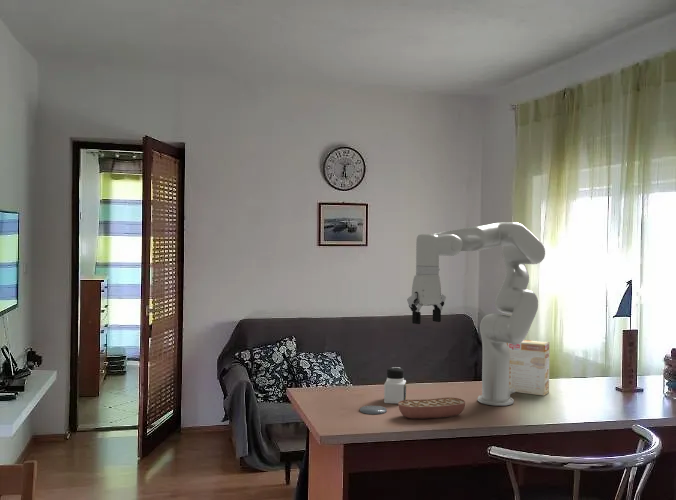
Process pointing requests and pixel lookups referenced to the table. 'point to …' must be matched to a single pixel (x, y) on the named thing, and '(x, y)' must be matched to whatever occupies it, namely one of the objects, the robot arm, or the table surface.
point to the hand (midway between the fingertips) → (426, 322)
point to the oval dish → (431, 408)
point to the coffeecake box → (529, 367)
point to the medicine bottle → (395, 386)
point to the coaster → (373, 409)
